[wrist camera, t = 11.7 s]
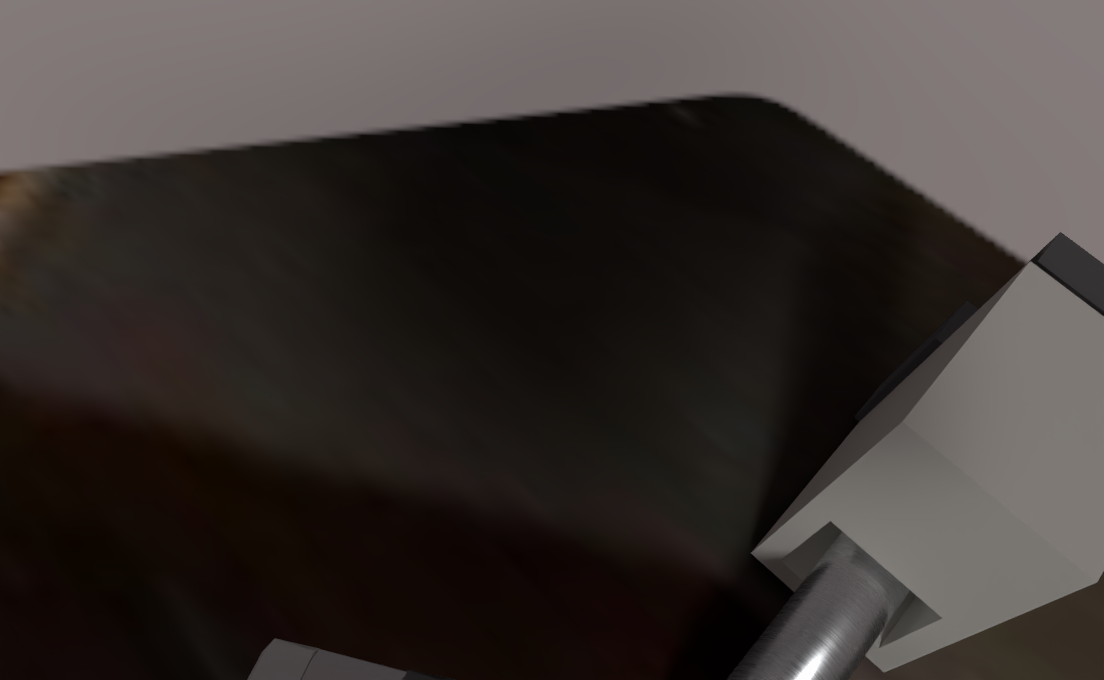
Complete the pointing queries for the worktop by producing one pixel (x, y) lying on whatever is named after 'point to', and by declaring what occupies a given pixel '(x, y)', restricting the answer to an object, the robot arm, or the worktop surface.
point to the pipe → (853, 575)
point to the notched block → (971, 474)
